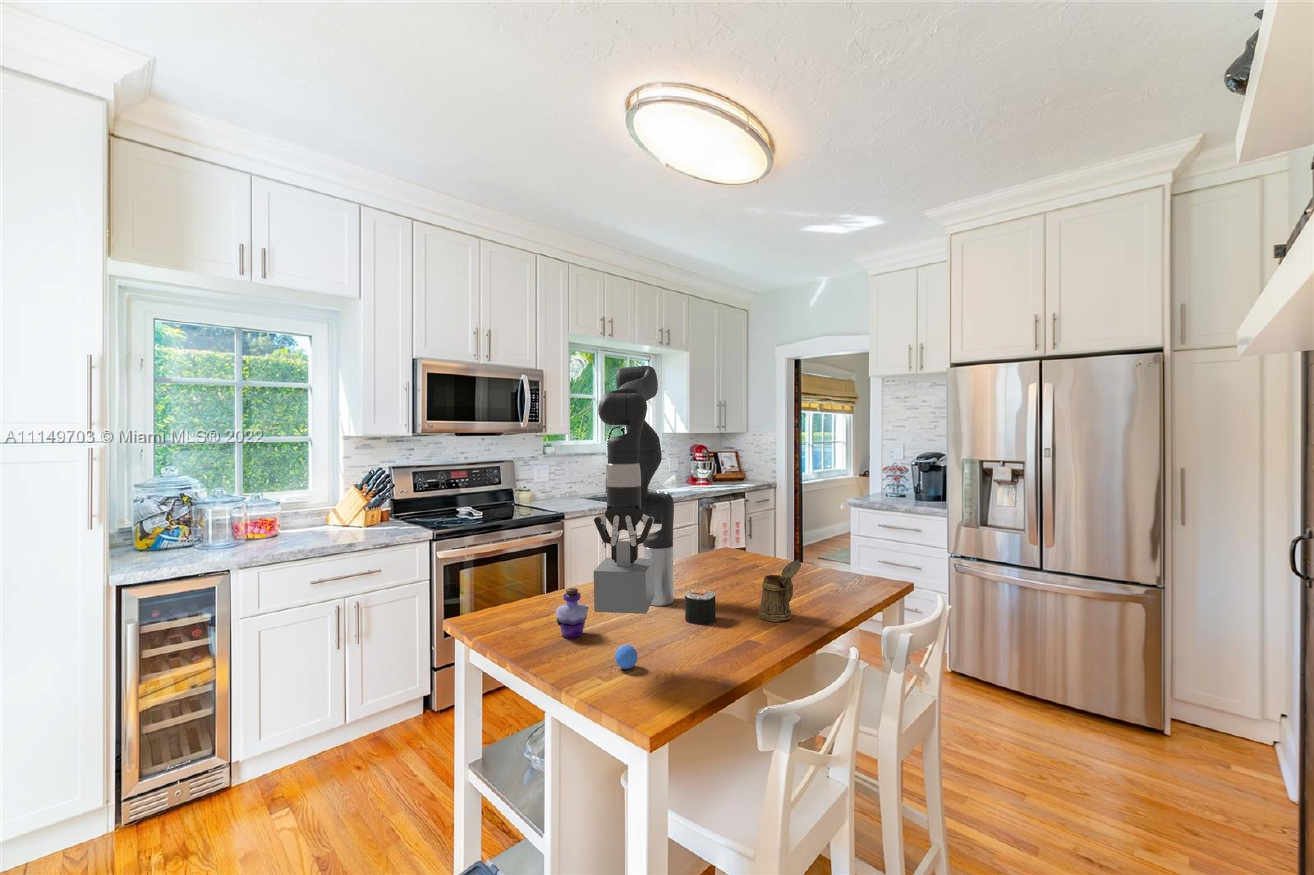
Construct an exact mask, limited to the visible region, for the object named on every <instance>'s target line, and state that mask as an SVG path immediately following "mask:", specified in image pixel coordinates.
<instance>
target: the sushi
mask: <svg viewBox="0 0 1314 875" xmlns="http://www.w3.org/2000/svg"><path fill="white" fill-rule="evenodd" d="M684 601H685V603H684V607H685V609H684V610H685V611H684V612H685V614H684V620H685V621H686V622H687V623H690V624H694V625H699V626H702V625H703V626H706V625H707V626H708V625H710V623H711V624H712V623H714V622H715V621H716V619H717V618H716V616H717V615H716V592H714V591H712V590H707V589H706V590H704V589H703V590H702V589H689V590H688V591H686V592H685V595H684ZM713 621H714V622H713Z"/></svg>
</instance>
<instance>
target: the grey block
mask: <svg viewBox="0 0 1314 875" xmlns="http://www.w3.org/2000/svg"><path fill="white" fill-rule="evenodd" d="M630 546H631V542H630V540H622V539H621V540H618V542H617V543H616V554H617V563H614V560H612V558H611V557H607V556H605V558H604V559H603V560H602V561H601V563H599V564H598V565H597V567H595V569H594V570H593V600H594V601H593V605H594V607H593V610H594V613H613V614H614V613H615V614H636V615H637V614H640V615H641V614H642V615H646V614H648V611H649V610H650V608H651V607H650V606H652V605H651V603H652V601H653V599H654V559H649V558H642V557H638V558H637V560H636V561H635V562H634V563H631V561H630Z"/></svg>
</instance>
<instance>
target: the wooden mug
mask: <svg viewBox="0 0 1314 875" xmlns="http://www.w3.org/2000/svg"><path fill="white" fill-rule="evenodd" d="M801 567H802V562H801V561H800V559H798V558H796V559H795V560H793V561H791V562H790V563H789V564H787V565H785V567H784V568H783V569H782V571H781V575H780V574H767V575H764V578H763V581H762V585H761V586H762V590H761V591H762V592H761V598H760V599H761V600H760V607H759V609H758V610H759V611H758V618H759V619H761V620H763V621H768V622H771V621H772V623H774V622H775V623H782V621H784V622H787V621H790V620H791V619H792V616H793V615H792V610H791V607H790V603H791V600H792V597H793V594H794V584H793V582H792V578H793V577H794V576H795V575H797V573H799V571H800V569H801Z"/></svg>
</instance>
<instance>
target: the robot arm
mask: <svg viewBox="0 0 1314 875" xmlns="http://www.w3.org/2000/svg"><path fill="white" fill-rule="evenodd" d="M615 382H616V383H615V384H616V389H615V390H611V391H608V392H606V393H605V394H604V395H603V396H602V397H601V398H600V400H599V404H598V411H597V413H598V416H599V419H600V420H601V422H603V423H604V424H606V425H608V426H625V430H626V432H625V434H620V435H617V436H616V435H615V436H612V437H609V439H608V440H607V446H606V447H607V469H606V480H605V482H606V483H605V484H606V510H605V511H604V513H603V514H601V515H597V516H596V517H594V518H593V522H594V524H595V526H596V528H597V530H598V533H599V536H600V538H601V541H602V543H604V544H608V545H610V547H611V548H610V550H611V552H610V553H611V557H610V558H612V560H614V563H617V554H616V543H617V542H618V541H619V538H620V534H621V531H622V530H623V531H627V533H628V534H627V535H628V536H629V541H630V542H631V546H630V561H631V563H634V562H635V561H636V560H637V558H639V545H640V544H642V546H643V547H642V548H643V556H642V557H643V558H649V559H654V599H653V601H652V603H651V605H650V606H657V607H660V606H666V605H670V604H671V605H672V604H673V603H674V600H675V599H674V598H675V596H674V591H675V590H674V586H675V585H674V521H675V520H674V518H675V515H674V514H675V502H674V498H673V496H672V495H671V494H669V493H650V492H649V485H650V483H651V480H652V479H653V477H654V476H655V473H656V472H657V470H658V469H659V466H660V464H662V460H663V457H662V449H661V448H662V447H661V441H660V438H659V436H658V434H657V432H656V431H655V430H654V428H653V427H652V426H651V425H650V424H649V423H648V422H647V421H646V417H647V411H648V403H647V402H648V401H649V400H651V399H653V398H655V397H656V396H657V393H658V389H659V384H658V383H659V382H658V376H657V372H656V370H655V368H654V367H653V366H650V365H638V366H628V367H627V366H626V367H621V368H619V369H617V371H616V373H615ZM607 522H609V524H610V525H611V527H612V529H611V535H610V533H609V531H608V528H607V527H606V525H605V524H606V523H607ZM640 522H641V523H642V524H643V526H644V527H643V530H642V531H641V534H640V537H638V531H637V530H638V529H637V525H638V524H639V523H640ZM653 525H661V528H660V529H659V530H657V531H655V532H653V533H650V532H651V529H652V527H653Z"/></svg>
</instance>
